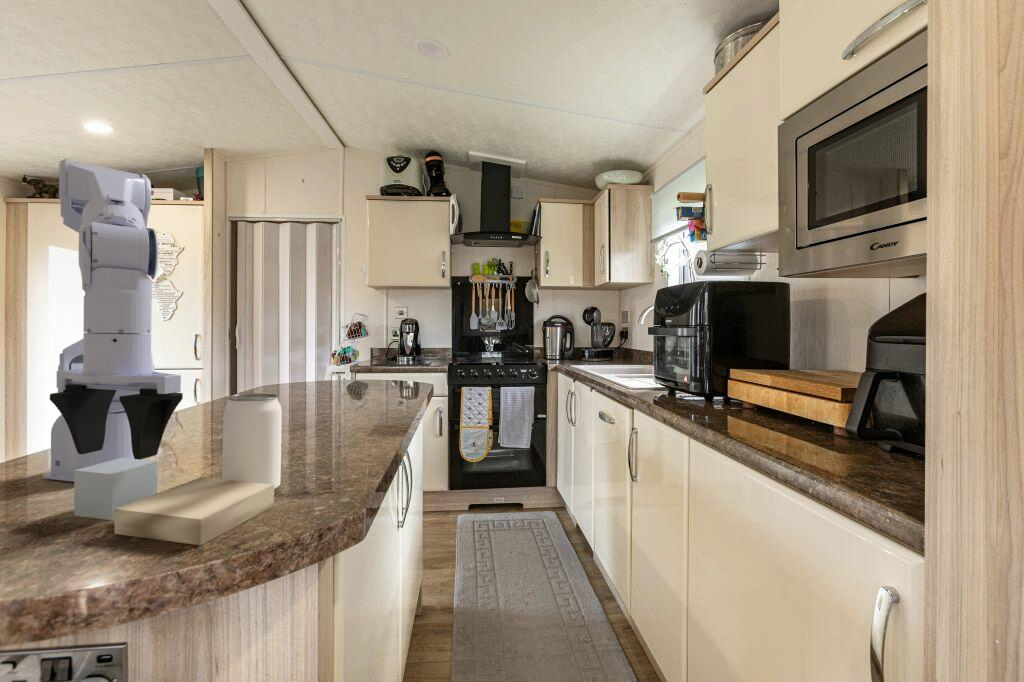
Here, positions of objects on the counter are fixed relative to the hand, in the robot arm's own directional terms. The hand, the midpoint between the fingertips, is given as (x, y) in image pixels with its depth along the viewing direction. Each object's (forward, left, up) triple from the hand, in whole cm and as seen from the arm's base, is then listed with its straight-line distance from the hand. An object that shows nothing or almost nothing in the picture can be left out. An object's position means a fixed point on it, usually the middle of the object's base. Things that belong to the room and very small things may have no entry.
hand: (117, 454), depth 51 cm
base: (+11, 0, -6) cm, 13 cm away
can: (+10, +9, -6) cm, 15 cm away
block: (0, 0, -6) cm, 6 cm away
